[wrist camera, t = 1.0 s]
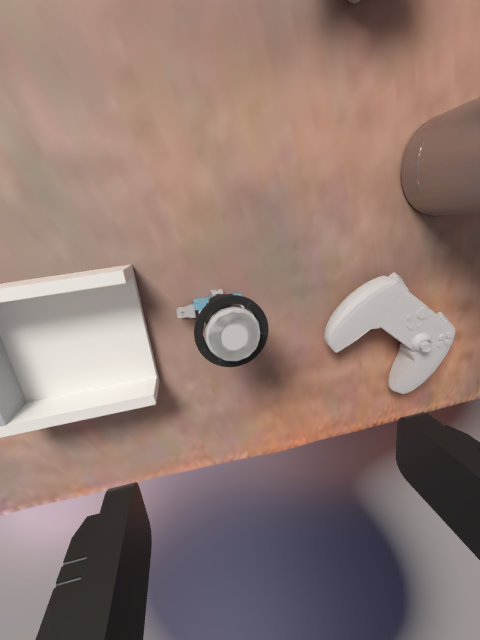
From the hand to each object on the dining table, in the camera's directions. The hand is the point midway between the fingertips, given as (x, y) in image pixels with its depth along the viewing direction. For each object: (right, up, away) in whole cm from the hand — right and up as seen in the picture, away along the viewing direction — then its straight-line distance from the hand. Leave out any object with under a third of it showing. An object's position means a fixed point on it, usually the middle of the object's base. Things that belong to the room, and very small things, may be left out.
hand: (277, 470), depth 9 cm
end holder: (-17, +3, +19) cm, 26 cm away
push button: (-4, +6, +21) cm, 22 cm away
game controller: (+15, +4, +26) cm, 30 cm away
